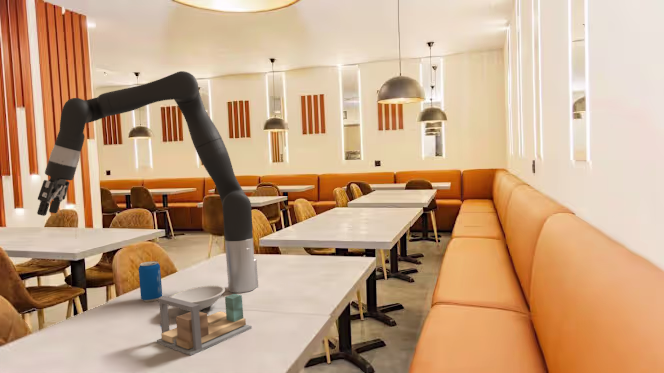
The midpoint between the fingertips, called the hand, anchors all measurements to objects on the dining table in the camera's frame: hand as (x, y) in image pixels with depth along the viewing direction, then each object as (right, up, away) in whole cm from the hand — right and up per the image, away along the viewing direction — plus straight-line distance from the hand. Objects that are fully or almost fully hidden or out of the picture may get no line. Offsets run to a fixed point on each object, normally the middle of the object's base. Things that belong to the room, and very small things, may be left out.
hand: (47, 213), depth 131 cm
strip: (+57, -29, -25) cm, 69 cm away
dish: (+47, -28, -3) cm, 55 cm away
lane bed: (+55, -29, -23) cm, 66 cm away
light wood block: (+55, -28, -17) cm, 64 cm away
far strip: (+50, -29, -24) cm, 62 cm away
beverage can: (+27, -29, +11) cm, 41 cm away
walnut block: (+54, -27, -29) cm, 67 cm away
